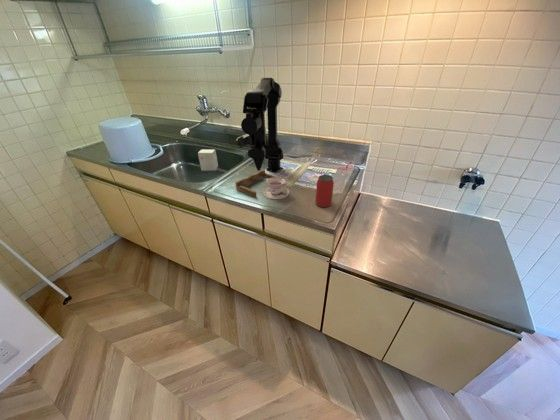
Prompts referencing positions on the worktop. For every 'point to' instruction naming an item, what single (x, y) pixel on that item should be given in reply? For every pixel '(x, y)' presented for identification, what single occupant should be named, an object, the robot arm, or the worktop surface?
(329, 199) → the beer can
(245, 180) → the open wooden frame
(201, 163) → the small box
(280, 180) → the teacup
